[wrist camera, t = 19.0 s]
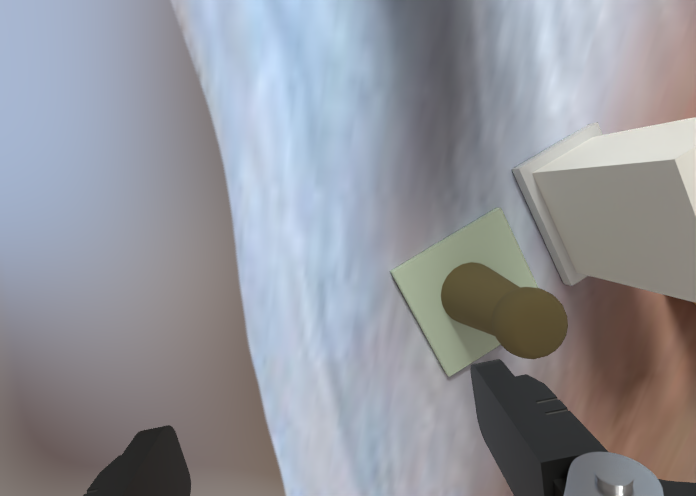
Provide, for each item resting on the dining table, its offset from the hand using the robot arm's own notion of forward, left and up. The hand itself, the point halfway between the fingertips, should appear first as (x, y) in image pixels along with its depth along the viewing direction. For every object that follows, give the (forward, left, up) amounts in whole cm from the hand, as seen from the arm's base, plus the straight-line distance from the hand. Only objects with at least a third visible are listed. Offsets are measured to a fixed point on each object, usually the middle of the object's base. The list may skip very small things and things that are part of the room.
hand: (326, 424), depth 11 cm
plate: (+11, +13, -26) cm, 32 cm away
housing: (+9, +27, -26) cm, 39 cm away
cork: (+11, +13, -26) cm, 31 cm away
